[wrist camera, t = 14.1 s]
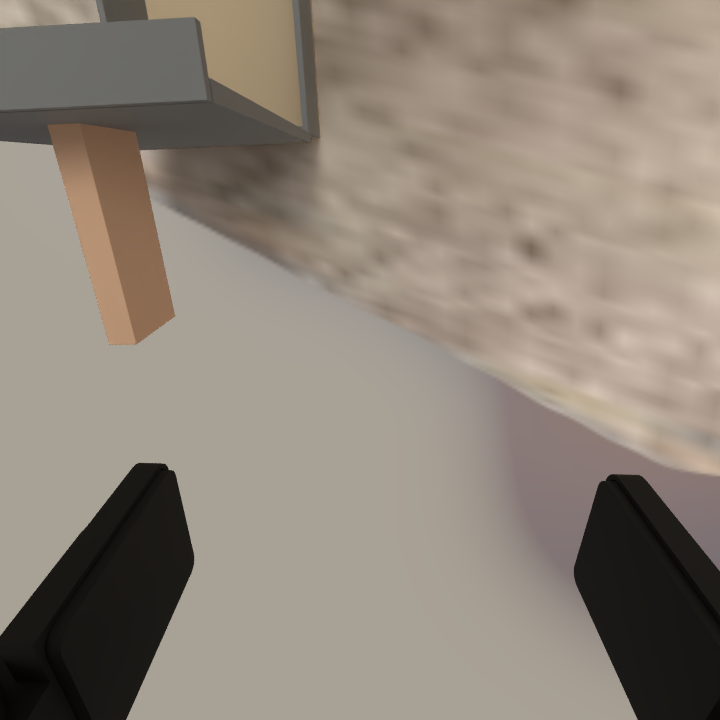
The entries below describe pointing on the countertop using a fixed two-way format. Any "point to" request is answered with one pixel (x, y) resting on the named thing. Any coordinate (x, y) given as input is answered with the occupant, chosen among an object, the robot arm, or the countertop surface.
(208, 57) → the mailer box
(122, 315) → the lid
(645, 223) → the countertop surface
